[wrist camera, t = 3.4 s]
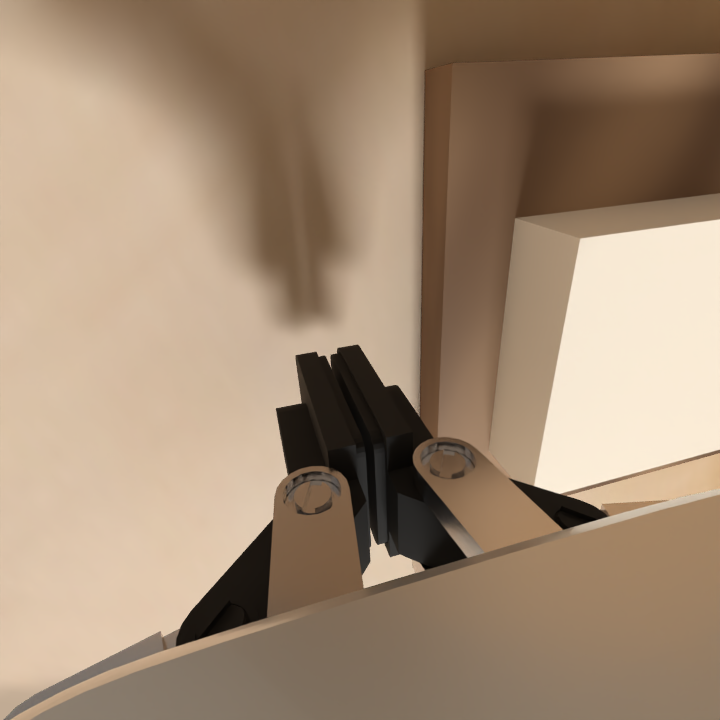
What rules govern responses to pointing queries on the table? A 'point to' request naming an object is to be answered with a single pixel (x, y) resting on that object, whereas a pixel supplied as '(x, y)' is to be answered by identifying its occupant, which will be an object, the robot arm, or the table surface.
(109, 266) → the table surface
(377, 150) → the table surface
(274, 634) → the robot arm
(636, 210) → the coaster
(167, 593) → the table surface
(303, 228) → the table surface
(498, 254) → the board
